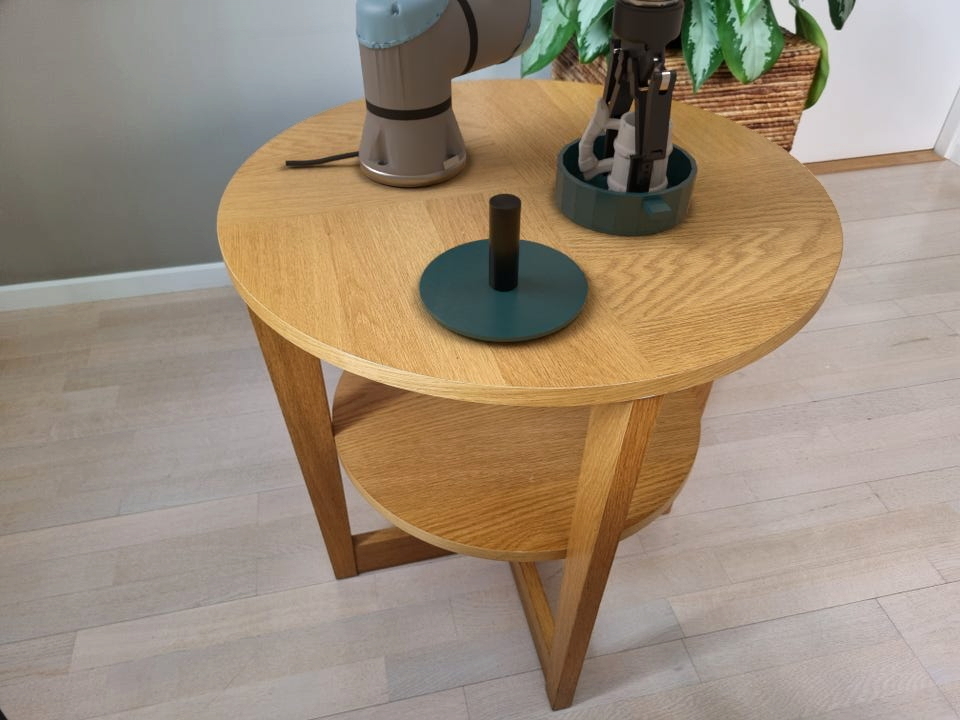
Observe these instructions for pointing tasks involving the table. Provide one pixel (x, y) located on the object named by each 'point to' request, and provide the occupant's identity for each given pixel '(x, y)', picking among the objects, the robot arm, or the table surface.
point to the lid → (503, 283)
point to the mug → (618, 150)
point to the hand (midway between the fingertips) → (623, 188)
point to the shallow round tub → (623, 195)
